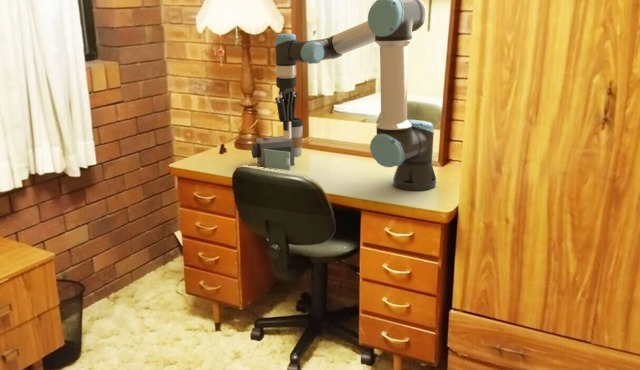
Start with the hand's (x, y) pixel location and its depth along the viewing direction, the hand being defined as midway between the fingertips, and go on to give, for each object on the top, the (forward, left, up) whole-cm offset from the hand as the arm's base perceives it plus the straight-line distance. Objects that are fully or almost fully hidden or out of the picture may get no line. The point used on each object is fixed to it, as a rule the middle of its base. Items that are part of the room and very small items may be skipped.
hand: (287, 138), depth 240 cm
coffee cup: (+19, -7, -13) cm, 24 cm away
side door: (-1, +5, -11) cm, 12 cm away
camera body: (+8, +4, -12) cm, 16 cm away
